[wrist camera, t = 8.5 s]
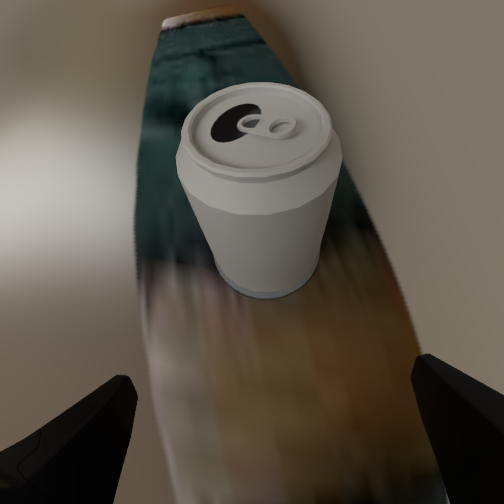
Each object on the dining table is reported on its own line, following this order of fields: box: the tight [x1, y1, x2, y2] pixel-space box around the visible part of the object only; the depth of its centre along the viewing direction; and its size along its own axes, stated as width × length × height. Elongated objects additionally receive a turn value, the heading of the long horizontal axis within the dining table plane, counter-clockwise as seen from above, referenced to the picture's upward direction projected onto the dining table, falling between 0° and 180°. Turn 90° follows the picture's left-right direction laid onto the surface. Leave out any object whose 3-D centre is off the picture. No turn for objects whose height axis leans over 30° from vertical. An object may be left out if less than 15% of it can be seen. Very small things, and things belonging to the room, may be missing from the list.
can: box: [176, 82, 343, 292], centre depth 16 cm, size 8×8×12 cm
